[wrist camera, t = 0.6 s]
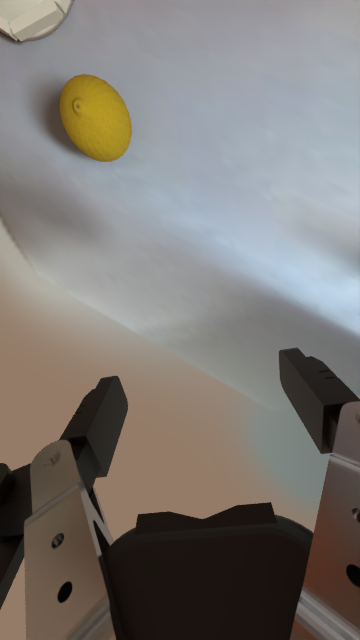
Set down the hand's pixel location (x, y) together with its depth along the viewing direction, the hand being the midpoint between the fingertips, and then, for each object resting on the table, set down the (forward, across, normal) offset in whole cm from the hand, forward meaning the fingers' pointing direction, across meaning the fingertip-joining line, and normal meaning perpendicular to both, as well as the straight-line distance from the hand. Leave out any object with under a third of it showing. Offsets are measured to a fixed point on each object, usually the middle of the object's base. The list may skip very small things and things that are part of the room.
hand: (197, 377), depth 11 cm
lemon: (+20, +5, -17) cm, 27 cm away
